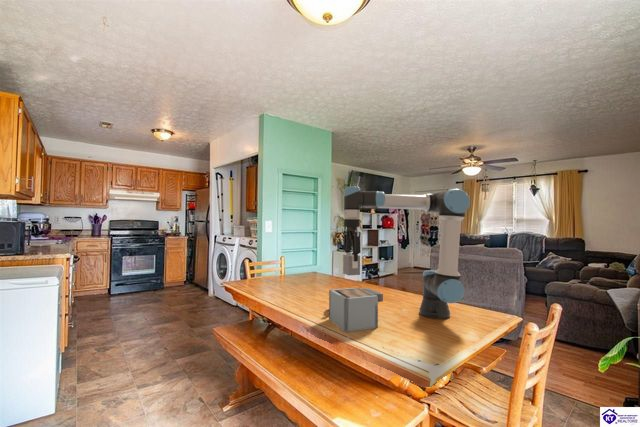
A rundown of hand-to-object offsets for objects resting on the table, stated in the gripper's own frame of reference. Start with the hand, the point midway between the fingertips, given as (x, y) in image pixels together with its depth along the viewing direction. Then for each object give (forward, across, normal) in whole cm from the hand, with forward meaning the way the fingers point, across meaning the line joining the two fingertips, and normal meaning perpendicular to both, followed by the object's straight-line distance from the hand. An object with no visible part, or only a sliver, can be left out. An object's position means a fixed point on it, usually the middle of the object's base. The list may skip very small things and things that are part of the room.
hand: (351, 266), depth 143 cm
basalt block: (+3, 0, 0) cm, 3 cm away
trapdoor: (+16, 0, +5) cm, 17 cm away
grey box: (+27, 0, +1) cm, 27 cm away
